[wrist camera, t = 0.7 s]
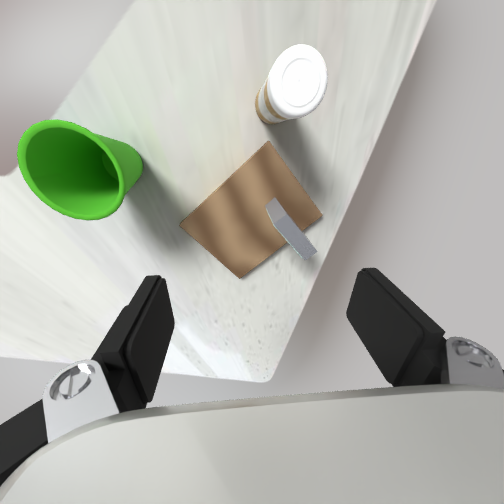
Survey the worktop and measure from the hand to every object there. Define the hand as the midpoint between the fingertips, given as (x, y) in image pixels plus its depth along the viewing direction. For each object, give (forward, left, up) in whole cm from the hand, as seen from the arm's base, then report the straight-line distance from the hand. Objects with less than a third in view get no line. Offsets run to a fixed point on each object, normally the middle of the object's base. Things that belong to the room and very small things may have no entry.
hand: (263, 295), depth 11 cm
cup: (+10, -13, -26) cm, 31 cm away
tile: (-2, +8, -24) cm, 25 cm away
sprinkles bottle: (-10, -5, -26) cm, 28 cm away
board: (+2, +5, -25) cm, 26 cm away
